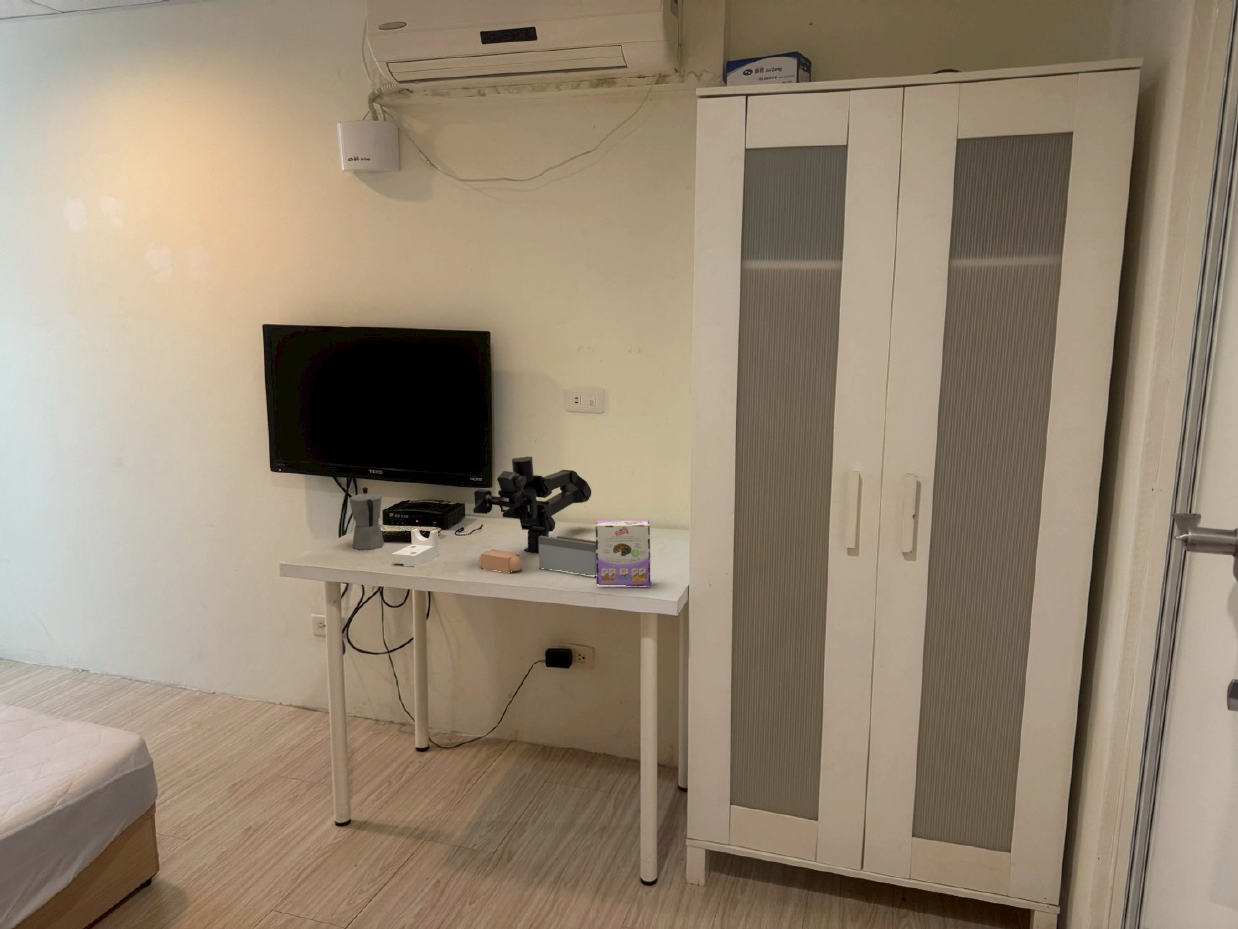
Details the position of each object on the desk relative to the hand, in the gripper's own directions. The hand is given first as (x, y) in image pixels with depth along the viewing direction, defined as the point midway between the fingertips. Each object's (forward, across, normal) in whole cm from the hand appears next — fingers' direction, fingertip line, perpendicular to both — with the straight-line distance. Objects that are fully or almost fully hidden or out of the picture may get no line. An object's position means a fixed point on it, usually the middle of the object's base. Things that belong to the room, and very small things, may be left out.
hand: (488, 513), depth 233 cm
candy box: (-4, +37, +16) cm, 41 cm away
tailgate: (-6, +19, +16) cm, 26 cm away
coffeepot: (-6, -48, +19) cm, 52 cm away
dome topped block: (-3, +1, +17) cm, 17 cm away
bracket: (-1, -26, +18) cm, 32 cm away
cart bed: (-12, +20, +17) cm, 29 cm away
